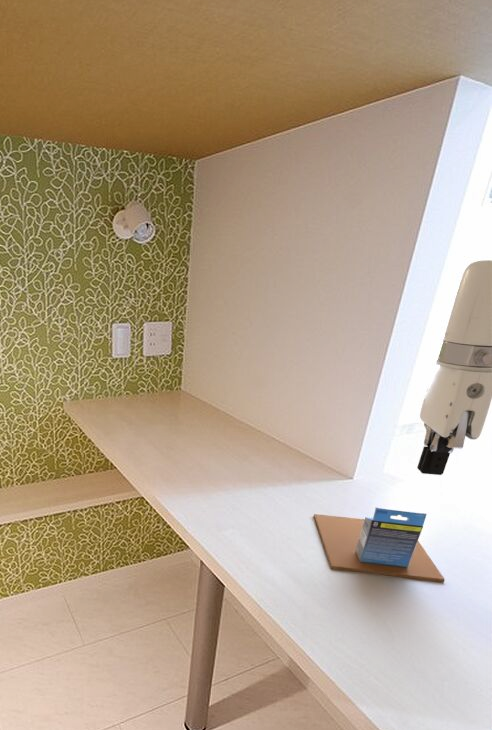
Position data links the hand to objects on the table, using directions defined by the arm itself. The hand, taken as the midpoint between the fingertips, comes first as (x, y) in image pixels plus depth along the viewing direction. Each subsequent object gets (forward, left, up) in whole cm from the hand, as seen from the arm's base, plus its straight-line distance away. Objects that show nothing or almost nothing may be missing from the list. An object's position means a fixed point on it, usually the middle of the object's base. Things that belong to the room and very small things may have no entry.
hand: (429, 471), depth 70 cm
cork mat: (0, -13, -23) cm, 27 cm away
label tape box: (0, -7, -23) cm, 24 cm away
